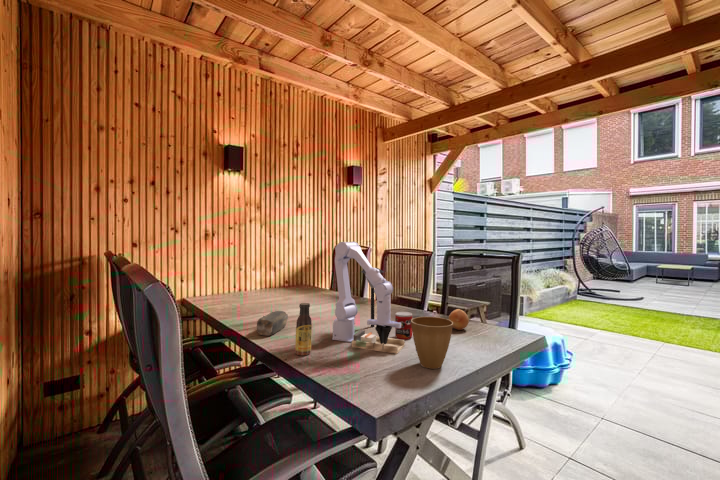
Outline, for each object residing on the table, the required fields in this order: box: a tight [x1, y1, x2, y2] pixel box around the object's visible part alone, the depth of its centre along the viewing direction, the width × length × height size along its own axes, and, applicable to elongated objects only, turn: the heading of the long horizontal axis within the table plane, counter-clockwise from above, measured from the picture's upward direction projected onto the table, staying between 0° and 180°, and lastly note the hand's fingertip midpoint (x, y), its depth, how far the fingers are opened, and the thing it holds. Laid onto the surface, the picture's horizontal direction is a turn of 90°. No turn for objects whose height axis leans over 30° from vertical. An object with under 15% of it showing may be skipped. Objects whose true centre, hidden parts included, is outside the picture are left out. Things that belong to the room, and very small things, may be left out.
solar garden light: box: [360, 267, 385, 328], centre depth 174 cm, size 12×12×30 cm
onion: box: [447, 308, 470, 331], centre depth 169 cm, size 10×10×10 cm
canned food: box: [394, 311, 413, 341], centre depth 155 cm, size 8×8×11 cm
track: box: [351, 329, 406, 355], centre depth 142 cm, size 20×10×5 cm, turn 66°
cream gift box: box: [361, 332, 377, 343], centre depth 144 cm, size 5×6×4 cm
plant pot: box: [411, 316, 454, 370], centre depth 122 cm, size 15×15×16 cm
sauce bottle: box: [294, 302, 313, 357], centre depth 134 cm, size 6×6×20 cm
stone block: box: [256, 310, 289, 337], centre depth 166 cm, size 20×9×10 cm
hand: (383, 343), depth 141 cm, fingers closed
